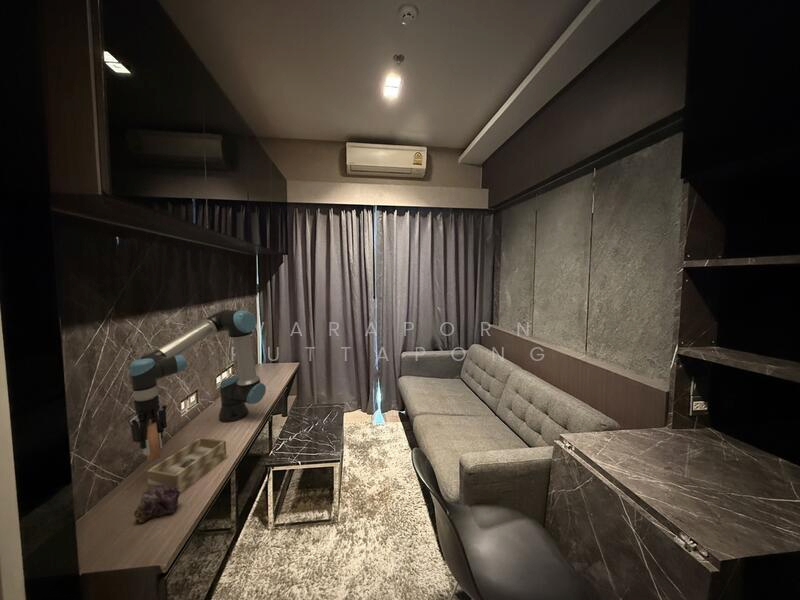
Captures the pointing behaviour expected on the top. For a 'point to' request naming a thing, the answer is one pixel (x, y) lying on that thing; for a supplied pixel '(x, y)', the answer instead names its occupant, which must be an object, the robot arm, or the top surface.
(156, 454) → the peg
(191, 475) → the box
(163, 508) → the rock
